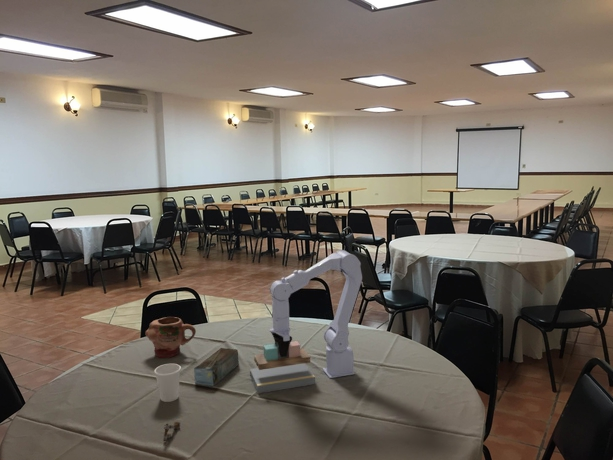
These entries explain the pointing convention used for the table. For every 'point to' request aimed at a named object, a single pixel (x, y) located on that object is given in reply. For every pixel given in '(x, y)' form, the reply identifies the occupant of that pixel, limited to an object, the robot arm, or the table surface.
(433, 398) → the table surface
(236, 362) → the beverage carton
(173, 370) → the dixie cup
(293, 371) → the grey flat block
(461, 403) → the table surface
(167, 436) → the toy blaster gun
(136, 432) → the table surface
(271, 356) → the block
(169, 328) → the terracotta mug
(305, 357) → the pallet
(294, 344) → the crate rose
